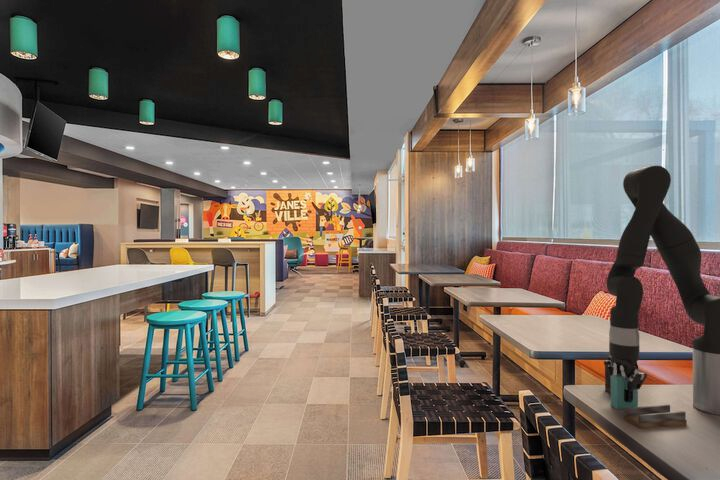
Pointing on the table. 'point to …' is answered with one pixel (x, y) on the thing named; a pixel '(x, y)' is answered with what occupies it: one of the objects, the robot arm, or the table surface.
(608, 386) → the supplement bottle
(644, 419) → the floor track
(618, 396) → the teal rectangular block
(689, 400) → the table surface
